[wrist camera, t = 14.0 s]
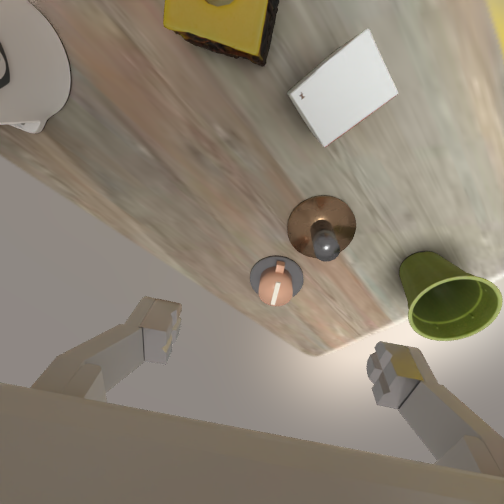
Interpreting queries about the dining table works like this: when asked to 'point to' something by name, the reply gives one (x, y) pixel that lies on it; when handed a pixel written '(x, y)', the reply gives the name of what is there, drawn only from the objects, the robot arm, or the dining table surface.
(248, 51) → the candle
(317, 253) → the brown wide round part
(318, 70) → the small box
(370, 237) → the dining table surface
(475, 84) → the dining table surface
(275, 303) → the cap
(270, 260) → the pad
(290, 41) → the dining table surface
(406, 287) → the plant pot
